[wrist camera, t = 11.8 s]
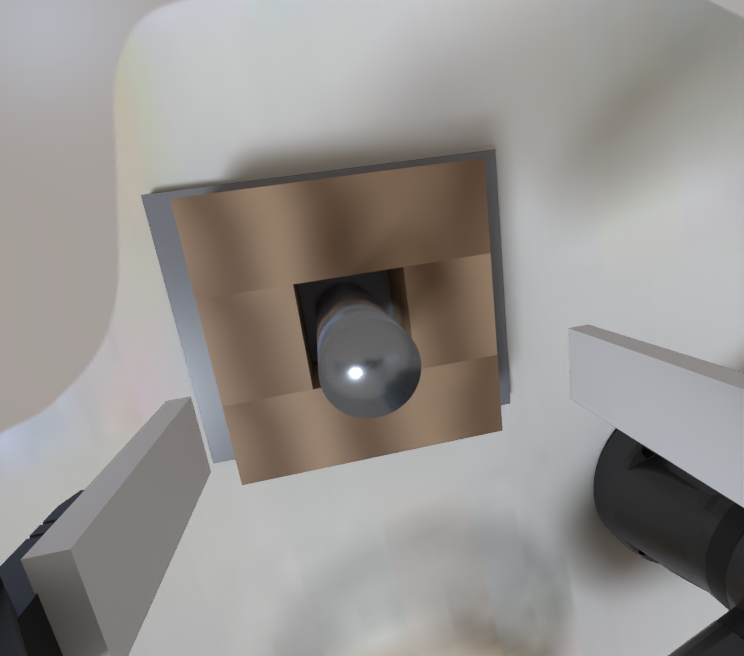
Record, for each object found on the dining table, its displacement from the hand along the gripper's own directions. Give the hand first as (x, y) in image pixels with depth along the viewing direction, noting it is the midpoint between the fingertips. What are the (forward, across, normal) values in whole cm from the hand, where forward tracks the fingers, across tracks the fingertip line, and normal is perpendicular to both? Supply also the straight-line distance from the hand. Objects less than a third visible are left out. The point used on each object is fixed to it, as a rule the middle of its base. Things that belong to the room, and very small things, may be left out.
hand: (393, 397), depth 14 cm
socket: (+15, 0, -1) cm, 15 cm away
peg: (+14, 0, -1) cm, 14 cm away
